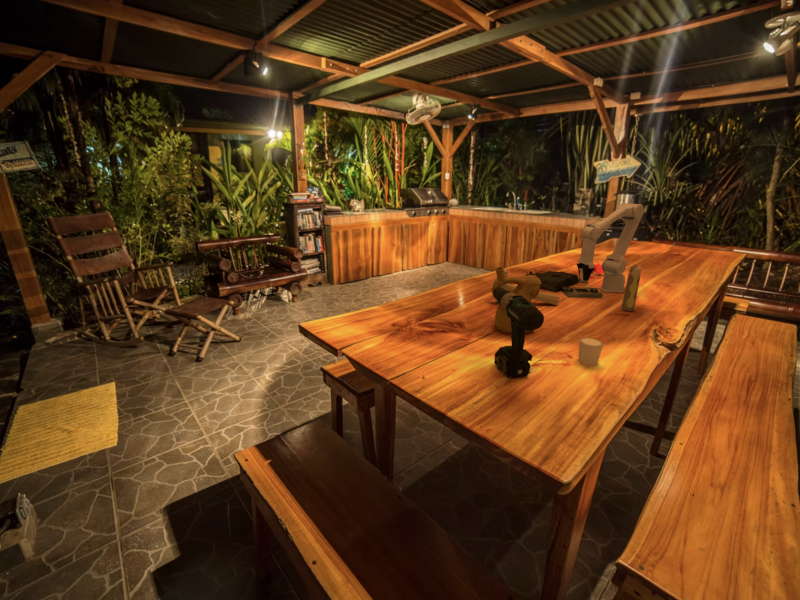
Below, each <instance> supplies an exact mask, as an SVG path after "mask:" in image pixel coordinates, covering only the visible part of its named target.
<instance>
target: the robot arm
mask: <svg viewBox="0 0 800 600" xmlns="http://www.w3.org/2000/svg"><path fill="white" fill-rule="evenodd" d="M644 213H645V208H644V205H643V204H642V203H629V202H628V203H627V202H622V203H620V204H619V205H617V208H616V210H614V211H613V212H611V213H610V214H609V215H608V216H607V217H600V218H599V219H598V220H596V222H594V223H592V224H591V225H590V226H586V227H584V228H583V229H582V231H581V233H580V236H581V239H582V240H581V242H582V244H581V251H580V257H578V260H577V263H576V267H577V271H578V277H579V276H580V271H579V268H582V270H583V281H589V279H590V278H591V275H592V273H593V272H594V271H595V270H596V267H595V264H594V256H595V250H596V246H597V240H599V239H600V237H601V235H602V234H603V233H604V232H605V231H607V230H608V229H610V228H611V224H613V223H614V222H616V221H618V220H620V219H621V220H622V221H623V222H624V224H625V225H624V227H623V229H622V231H621V233H620V235H619V237H618V240H617V242H616V245H615V247H614V250H613V252H612V253H611V254H609V255H607V256H606V257H605V259H604V260H603V262H602V263H601V270H602V273H603V278H602V283H601V286H599V287H598V288H597V289H598V290H601V291H602V292H604V293H625V289H624V288H625V285H626V284H625V283H626V277H625V274H624V273H625V271H626V269H627V267H626V266H627V263H628V261H627V259H626V258H625V255H626V254H627V251H628V248H629V246H630V245H631V243H632V239H633V238H634V235H635V233H636V231H637V229H638V226H639V224H640V223H641V220H642V219H643V215H644Z"/></svg>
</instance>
